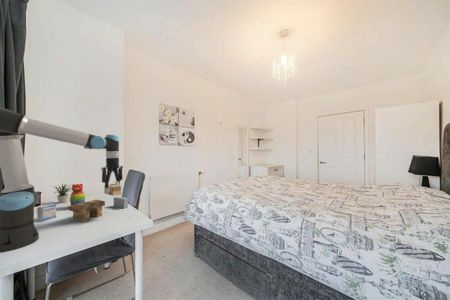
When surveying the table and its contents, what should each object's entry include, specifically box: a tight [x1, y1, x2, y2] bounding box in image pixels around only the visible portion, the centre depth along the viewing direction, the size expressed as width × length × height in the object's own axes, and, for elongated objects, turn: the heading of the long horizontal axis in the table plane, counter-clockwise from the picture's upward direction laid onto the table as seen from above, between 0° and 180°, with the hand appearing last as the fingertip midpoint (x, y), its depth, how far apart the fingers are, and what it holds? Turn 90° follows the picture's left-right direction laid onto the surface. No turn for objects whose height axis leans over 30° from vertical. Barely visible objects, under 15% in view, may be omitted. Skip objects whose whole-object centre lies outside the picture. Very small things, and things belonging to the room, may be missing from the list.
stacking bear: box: [67, 183, 86, 211], centre depth 144 cm, size 11×10×18 cm
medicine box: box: [36, 203, 57, 222], centre depth 120 cm, size 8×4×9 cm, turn 168°
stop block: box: [113, 196, 129, 209], centre depth 145 cm, size 3×12×7 cm, turn 66°
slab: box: [68, 199, 106, 213], centre depth 123 cm, size 16×10×3 cm, turn 156°
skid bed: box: [72, 206, 103, 222], centre depth 123 cm, size 11×12×6 cm
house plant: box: [54, 182, 72, 204], centre depth 154 cm, size 14×14×16 cm
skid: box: [104, 183, 122, 197], centre depth 127 cm, size 12×5×6 cm, turn 56°
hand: (112, 191), depth 127 cm, fingers closed on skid, 5 cm apart
